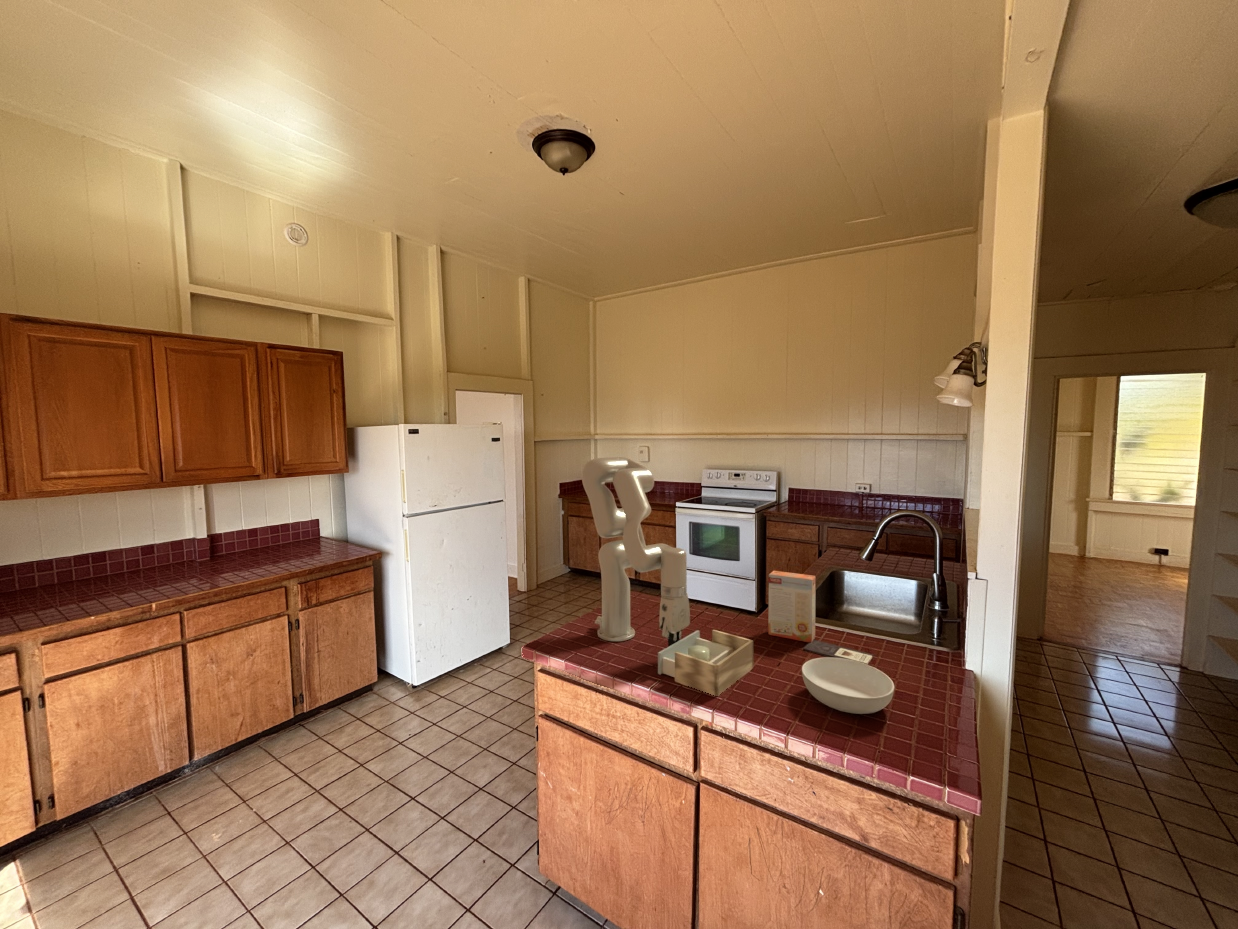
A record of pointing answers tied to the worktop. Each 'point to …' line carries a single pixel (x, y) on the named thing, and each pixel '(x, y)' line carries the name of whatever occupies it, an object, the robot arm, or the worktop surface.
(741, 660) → the sleeve
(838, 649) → the chocolate bar
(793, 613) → the cracker box
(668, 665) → the tray
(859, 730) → the worktop surface
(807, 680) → the serving bowl
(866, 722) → the worktop surface
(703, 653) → the cream glossy rounded part
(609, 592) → the robot arm
